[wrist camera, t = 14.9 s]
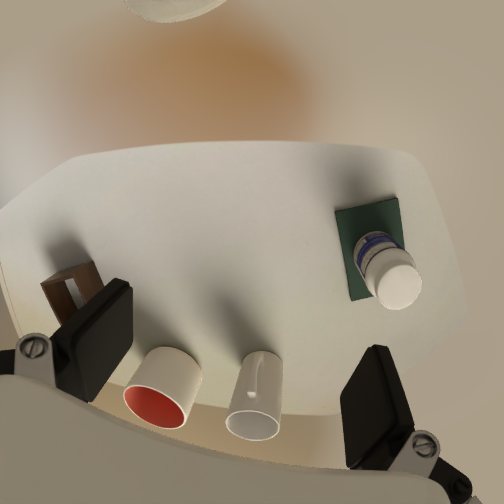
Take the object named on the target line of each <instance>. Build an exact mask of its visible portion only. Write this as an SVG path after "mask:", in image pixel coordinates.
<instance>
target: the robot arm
mask: <svg viewBox="0 0 504 504" xmlns="http://www.w3.org/2000/svg"><path fill="white" fill-rule="evenodd" d="M154 1H159V2H169V1H176V0H154ZM132 343H133V289H132V287H130V284H129V282H127V281H124V280H121V279H118V278H114V279H113V280H112V281H110V282H109V283H108V284H107V285H106V286H105V287H104V288H102V289H101V290H100V291H99V292H98V293H97V294H96V295H95V296H93V297H92V298H91V299H90V300H89V301H88V302H87V303H86V304H85V305H84V306H82V307H81V308H80V309H79V310H78V311H77V312H76V313H75V314H74V315H73V316H72V317H71V318H69V319H68V320H67V321H66V322H65V323H64V324H63V325H62V326H61V327H60V328H59V329H58V330H57V331H56V332H55V333H54V334H53V335H52V336H51V337H50V338H48V337H47V336H46V335H44V334H41V333H30V334H27V335H25V336H23V337H22V338H20V339H19V341H18V342H17V344H16V349H12V350H2V351H0V504H482V503H481V502H480V501H479V499H478V498H477V497H476V496H473V497H472V496H471V495H472V484H471V481H470V480H469V478H468V477H467V476H466V475H464V474H463V473H461V472H460V471H458V470H457V469H456V468H454V467H453V466H451V465H450V464H449V463H447V462H446V461H444V460H443V459H441V458H440V457H439V454H440V444H439V441H438V440H437V438H436V437H435V436H434V435H433V434H432V433H430V432H428V431H425V430H417V431H415V428H414V425H415V424H414V421H413V417H412V414H411V411H410V408H409V405H408V402H407V399H406V396H405V393H404V390H403V387H402V384H401V381H400V378H399V375H398V372H397V369H396V367H395V364H394V361H393V359H392V356H391V353H390V351H389V348H388V347H387V346H382V345H376V344H374V345H373V346H372V347H368V348H367V350H366V351H365V353H364V355H363V357H362V359H361V360H360V362H359V364H358V366H357V367H356V369H355V371H354V373H353V374H352V376H351V378H350V379H349V381H348V383H347V384H346V386H345V387H344V389H343V391H342V393H341V396H340V405H341V414H342V422H343V433H344V443H345V454H346V465H347V467H348V468H350V470H346V469H329V468H315V467H305V466H297V465H289V464H281V463H275V462H269V461H263V460H257V459H252V458H247V457H242V456H237V455H232V454H228V453H224V452H220V451H216V450H212V449H208V448H205V447H200V446H197V445H194V444H190V443H187V442H184V441H181V440H178V439H174V438H171V437H168V436H165V435H162V434H160V433H157V432H154V431H151V430H148V429H146V428H143V427H141V426H138V425H135V424H133V423H130V422H128V421H126V420H123V419H121V418H119V417H116V416H114V415H112V414H110V413H107V412H105V411H103V410H101V409H98V408H96V407H94V406H92V405H90V404H88V402H92V401H93V400H94V399H95V398H96V396H97V395H98V393H99V392H100V390H101V389H102V387H103V386H104V384H105V383H106V382H107V380H108V379H109V377H110V376H111V374H112V373H113V371H114V370H115V369H116V367H117V366H118V364H119V363H120V362H121V360H122V359H123V357H124V356H125V354H126V353H127V352H128V350H129V349H130V347H131V346H132Z"/></svg>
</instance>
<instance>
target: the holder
mask: <svg viewBox="0 0 504 504" xmlns="http://www.w3.org/2000/svg"><path fill="white" fill-rule="evenodd" d="M71 278H74V280H75V283H76V285H77V287H78V289H79V291H80V294H81V296H82V298H83V300H84V302H85V304H86V303H87V302H88V301H89V300H90V299H91V298H92V297H93V296H95V295H96V294H97V293H98V292H99V291H100V290H101V289H102V288H104V285H103V283H102V280H101V278H100V276H99V274H98V271H97V269H96V266H95V264H94V262H93V261H91V262H87V263H84V264H81V265H78V266H75V267H72V268H69V269H65V270H62V271H59V272H57V273H56V274H54V275H53V276H51V277H49V278H48V279H46V280H45V281H43V282H42V283H40V284H41V286H42V289H43V291H44V293H45V295H46V297H47V299H48V302H49V304H50V306H51V308H52V310H53V312H54V314H55V316H56V318H57V320H58V321H59V323H60V325H61V326H62V325H63V324H64V323H65V322H66V321H67V320H68V319H69V318H71V317H72V316H73V315H74V314H75V313H76V312H77V311H78V310H77V307H76V305H75V303H74V301H73V299H72V297H71V295H70V293H69V291H68V289H67V286H66V284H65V282H64V280H67V279H71Z"/></svg>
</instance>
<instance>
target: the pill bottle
mask: <svg viewBox="0 0 504 504" xmlns="http://www.w3.org/2000/svg"><path fill="white" fill-rule="evenodd" d="M354 262H355V265H356V267H357V269H358V271H359V273H360V274H361V276H362V278H363V280H364V282H365V284H366V286H367V288H368V290H369V291H370V293H371V294H372V295H373V296H375V297H376V298H378V299H379V301H380V302H381V304H382V305H383V306H385V307H386V308H389V309H392V310H399V309H403V308H405V307H407V306H409V305H410V304H412V303H413V302H414V301H415V300H416V298H417V297H418V295H419V293H420V291H421V286H422V280H421V276H420V273H419V272H418V270H417V269H416V266H415V263H414V260H413V259H412V257H411V256H410V255H409V253H408V252H407V251H405V250H404V249H403V248H402V247H401V246H400V245H399V244H398V243H397V242H396V241H395V240H394V239H393V238H392V237H391V236H390V235H388V234H386V233H384V232H379V231H375V232H370V233H368V234H366V235H364V236H363V237H362V238H361V239H360V240H359V241H358V243H357V244H356V246H355V249H354Z"/></svg>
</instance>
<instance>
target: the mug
mask: <svg viewBox="0 0 504 504" xmlns="http://www.w3.org/2000/svg"><path fill="white" fill-rule="evenodd" d="M282 385H283V364H282V361H281V360H280V358H279V357H277V356H276V355H275V354H273V353H270V352H267V351H256V352H252V353H250V354H248V355H247V356H246V357H245V358H244V360H243V363H242V366H241V369H240V372H239V376H238V379H237V383H236V386H235V389H234V393H233V396H232V399H231V403H230V406H229V409H228V414H227V417H226V420H225V424H226V427H227V428H228V430H229V431H230V432H231V433H233V434H234V435H236V436H238V437H240V438H243V439H247V440H253V441H259V440H266V439H270V438H272V437H274V436H275V435H276V434H277V433H278V432H279V430H280V420H281V404H282Z"/></svg>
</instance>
